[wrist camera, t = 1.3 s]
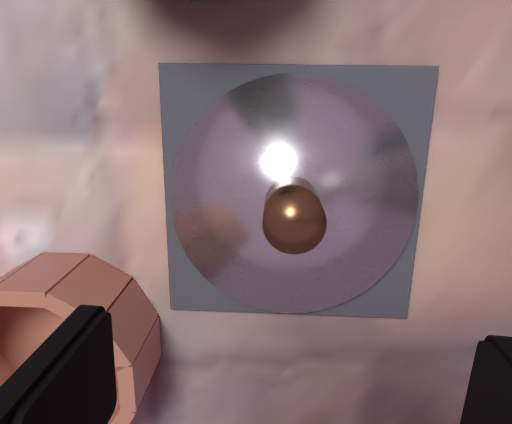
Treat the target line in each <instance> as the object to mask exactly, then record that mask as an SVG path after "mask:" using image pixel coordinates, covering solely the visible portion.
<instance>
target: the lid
mask: <svg viewBox="0 0 512 424" xmlns="http://www.w3.org/2000/svg"><path fill="white" fill-rule="evenodd" d="M169 200H170V209H171V216H172V220H173V224H174V228H175V231H176V234H177V236H178V239H179V241H180V244H181V246H182V248H183V249H184V251H185V253H186V255H187V257H188V258H189V259H190V261H191V262H192V264H193V265H194V266H195V268H196V269H197V270H198V271H199V272H200V273H201V274H202V275H203V276H204V278H205V279H206V280H207V281H209V282H210V283H211V284H212V285H214V286H215V287H216V288H217V289H218V290H220V291H222V292H223V293H225V294H226V295H228V296H229V297H231V298H233V299H235V300H237V301H239V302H241V303H243V304H246V305H249V306H252V307H255V308H258V309H262V310H267V311H271V312H280V313H306V312H313V311H319V310H323V309H327V308H330V307H334V306H336V305H339V304H341V303H344V302H346V301H348V300H350V299H352V298H354V297H356V296H358V295H360V294H361V293H362V292H364V291H365V290H367V289H368V288H370V287H371V286H372V285H374V284H375V283H376V282H377V281H378V280H379V279H380V278H381V277H382V276H384V275H385V273H386V272H387V271H388V270H389V269H390V268H391V266H392V265H393V264H394V263H395V261H396V260H397V258H398V257H399V255H400V254H401V252H402V251H403V249H404V247H405V245H406V243H407V241H408V239H409V237H410V234H411V231H412V228H413V225H414V222H415V217H416V212H417V207H418V178H417V171H416V167H415V162H414V158H413V155H412V153H411V150H410V147H409V145H408V142H407V141H406V139H405V137H404V135H403V133H402V132H401V130H400V128H399V127H398V125H397V124H396V123H395V121H394V120H393V119H392V117H391V116H390V115H389V114H388V113H387V112H386V111H385V110H384V109H383V108H382V107H381V106H380V105H379V104H378V103H377V102H376V101H374V100H373V99H372V98H370V97H369V96H368V95H366V94H365V93H364V92H362V91H360V90H358V89H356V88H354V87H353V86H351V85H349V84H347V83H344V82H341V81H338V80H336V79H333V78H330V77H325V76H321V75H316V74H306V73H283V74H275V75H270V76H265V77H261V78H258V79H255V80H252V81H249V82H246V83H244V84H242V85H240V86H238V87H236V88H234V89H232V90H230V91H228V92H227V93H226V94H224V95H223V96H221V97H220V98H218V99H217V100H215V101H214V102H213V103H212V104H211V105H210V106H209V107H208V108H207V109H206V110H204V111H203V112H202V114H201V115H200V116H199V117H198V118H197V120H196V121H195V122H194V123H193V124H192V126H191V127H190V129H189V131H188V132H187V134H186V135H185V137H184V139H183V141H182V143H181V145H180V147H179V150H178V152H177V154H176V158H175V161H174V164H173V168H172V173H171V180H170V199H169Z"/></svg>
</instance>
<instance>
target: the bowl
mask: <svg viewBox="0 0 512 424" xmlns="http://www.w3.org/2000/svg"><path fill="white" fill-rule="evenodd" d="M131 278H132V277H131V276H130V275H128V274H126V273H124V272H122V271H121V270H119V269H117V268H115V267H113V266H111V265H110V264H108V263H106V262H104V261H102V260H101V259H99V258H97V257H95V256H93V255H90V256H89V254H77V253H46V252H44V253H41V254H39V255H38V256H36V257H34V258H32V259H31V260H29V261H27V262H25V263H24V264H22V265H20V266H18V267H16V268H15V269H13V270H11V271H9V272H8V273H6V274H5V275H3V276H2V277H0V386H1V385H2V384H3V383H4V382H5V381H6V380H7V379H8V378H9V377H10V376H11V375H12V374H13V373H14V372H15V371H16V370H17V369H18V368H19V367H20V366H21V365H22V364H23V363H24V362H25V361H26V360H27V359H28V358H29V356H30V355H31V354H32V353H33V352H34V351H35V350H36V349H37V348H38V347H39V346H40V345H41V344H42V343H43V342H44V341H45V340H46V339H47V338H48V337H49V336H50V335H51V334H52V333H53V332H54V331H55V330H56V329H57V328H58V327H59V326H60V324H61V323H62V322H63V321H64V320H65V319H66V318H67V317H68V316H69V315H70V314H71V313H72V312H73V311H74V310H75V309H76V308H77V307H78V306H79V305H95V306H103V307H104V308H105V312H109V313H110V314H111V317H112V331H113V346H114V361H115V376H116V391H117V402H116V407H115V410H114V413H113V415H112V417H111V419H110V420H109V422H108V424H130V422H131V421H132V419H133V418H134V416H135V414H136V412H137V410H138V408H139V405H140V403H141V401H142V398H143V396H144V394H145V392H146V389H147V387H148V385H149V383H150V380H151V378H152V376H153V374H154V371H155V369H156V367H157V364H158V362H159V360H160V358H161V338H160V321H159V316H158V313H157V311H156V310H155V309H154V307H153V306H152V304H151V303H150V301H149V300H148V298H147V297H146V295H145V294H144V292H143V291H142V289H141V288H140V287H139V285H138V284H137V282H136V281H135V279H132V280H131Z"/></svg>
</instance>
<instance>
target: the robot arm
mask: <svg viewBox="0 0 512 424" xmlns="http://www.w3.org/2000/svg"><path fill="white" fill-rule="evenodd" d="M116 402H117V391H116V376H115V361H114V346H113V331H112V317H111V314H110V313H109V312H105V308H104V307H103V306H95V305H79V306H78V307H77V308H76V309H75V310H74V311H73V312H72V313H71V314H70V315H69V316H68V317H67V318H66V319H65V320H64V321H63V322H62V323H61V324H60V326H59V327H58V328H57V329H56V330H55V331H54V332H53V333H52V334H51V335H50V336H49V337H48V338H47V339H46V340H45V341H44V342H43V343H42V344H41V345H40V346H39V347H38V348H37V349H36V350H35V351H34V352H33V353H32V354H31V355H30V356H29V358H28V359H27V360H26V361H25V362H24V363H23V364H22V365H21V366H20V367H19V368H18V369H17V370H16V371H15V372H14V373H13V374H12V375H11V376H10V377H9V378H8V379H7V380H6V381H5V382H4V383H3V384H2V385H1V386H0V424H108V422H109V420H110V419H111V417H112V415H113V413H114V410H115V407H116ZM460 424H512V337H506V336H493V335H489V336H487V337H486V338H485V340H484V341H479V343H478V345H477V348H476V353H475V357H474V362H473V367H472V371H471V376H470V380H469V385H468V390H467V394H466V399H465V403H464V408H463V412H462V417H461V422H460Z"/></svg>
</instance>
